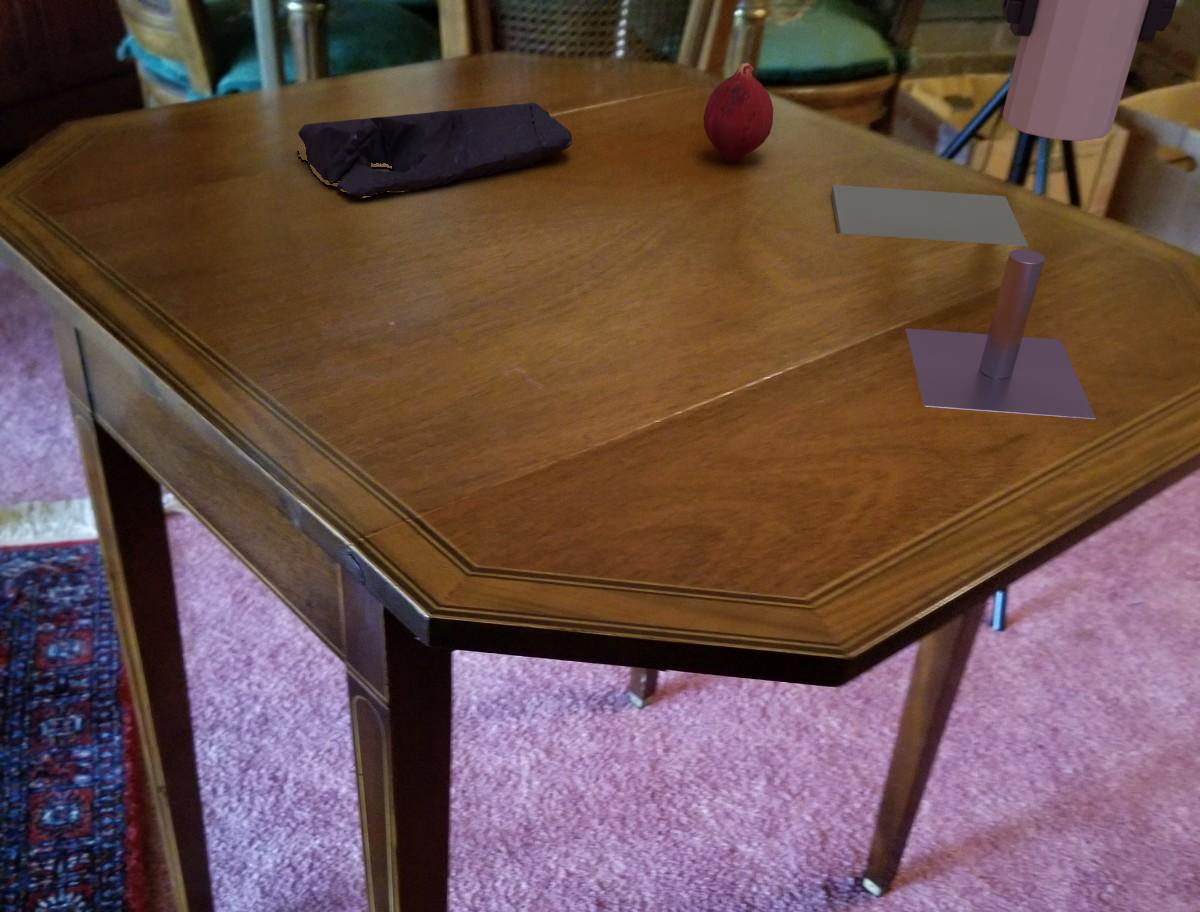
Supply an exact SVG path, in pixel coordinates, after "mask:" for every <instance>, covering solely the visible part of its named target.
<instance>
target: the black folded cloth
mask: <svg viewBox="0 0 1200 912" xmlns="http://www.w3.org/2000/svg"><path fill="white" fill-rule="evenodd" d="M297 133H298V136H299V137H300V139H301V140H302V142H304V144H305V147H306V155H307V160H308V162H309V163H310V164H311V165H312V166H313V167H314V168H315V169H316V171H317V172H318V173H319V174H320V175H321V177H322V178H323V179H324V180H328V181H329V183H330V184H333V183H339V184H338V185H337V189H338V190H340V189H343V190H344V191H347V193H346V194H348V195H350V196H353V197H355V196H356V197H355V198H359V197H363V196H373V197H374V195H375V194H376V193H381V192H387V191H405V192H407V191H419V190H421V189H424V187H425V188H432V187H441V186H442V187H443V186H445V185H447V184H449V183H451V182H453V181H457V180H458V181H459V180H465V179H475V178H480V177H483V175H485V176H492V175H495V174H496V173H503V172H505V171H511V170H518V169H521V168H523V167H528V168H529V167H531V168H532V167H534V166H535V163H537V162H540V160H542V159H547V158H549V157H552V156H553V155H554V154H556V153H559V152H563V151H565V150H567V149H569V148H570V147H571V146H572V144H573V135H572V133H571V131H570V130H569V129H568V128H567V127H566V126H564V125H563V124H562V123H561V122H559V121H558V120H557V119H556V118H555V117H552V116H551V115H550V114H549V112H548V111H547V110H545V108H543V107H542V106H540V104H538V103H537V102H528V103H518V104H505V105H497V106H482V107H474V108H464V109H461V108H459V109H452V110H438V111H430V112H422V113H421V112H420V113H409V114H408V113H407V114H399V115H398V114H397V115H390V116H388V115H387V116H376V117H368V118H355V119H346V120H345V119H344V120H336V121H323V122H313V123H306V124H303V125H302V127H301V128H300V129H299V131H298V132H297ZM371 163H373V164H376V163H379V164H380V163H381V164H383V163H386V164H388V165H389V166H392V169H393V170H388V171H387V170H386V171H384V170H375V168H372V167H371ZM338 181H340V182H338ZM410 189H412V190H410ZM381 194H382V193H381ZM375 196H376V195H375Z"/></svg>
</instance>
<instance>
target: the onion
mask: <svg viewBox="0 0 1200 912" xmlns="http://www.w3.org/2000/svg"><path fill="white" fill-rule="evenodd" d="M753 71H754V67H753V66H752V65H751V64H750V63H749V62H744V63H741V64H740V65H739V66H738V68H737V69H736V70H735V72H734V73H733V75H731V76H729V77H727V78H725V79H724V80H722V82H720V83H719V84H718V85H717V86H716V88H715V89H714V90H713V91H712V92H711V94H710V95H709V98H708V101H707V102H706V106H705V109H704V113H703V129H704V131H705V134H706V137H707V139H708V140H709V142H710V143H711V144H712V146H713V147H714V149H715V150H716V151H717V152H718V153H719V154H720V155H722V156H723V157H724V158H725V159H727V160H728V161H730V162H732V163H738V162H740V161H742V160H743V159H744V158H745V157H747V156H748V155H750V154H751V153H753V152H754V151H756V150H757V149H758V148H759V147H760V146H762V145H763V144H764V143H765V142H766V140H767V139H768V137H769V136H770V134H771V132H772V128H773V121H774V105H773V101H772V99H771V96H770V94H769V92H768V90H767V89H766V88H765V86H764V85H763V84H762V83H761V82H760V81H759V80H758V79H756V78H755V77H754V76H753Z"/></svg>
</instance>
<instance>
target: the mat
mask: <svg viewBox="0 0 1200 912" xmlns="http://www.w3.org/2000/svg"><path fill="white" fill-rule="evenodd" d="M830 195H831V201H832V207H833V208H832V209H833V214H834V219H835V224H836V225H835V226H836V232H837V234H844V235H846V234H847V235H857V236H859V235H860V236H872V237H873V236H875V237H885V238H886V237H887V238H901V239H902V238H903V239H916V240H931V241H945V242H947V241H948V242H961V243H974V244H975V243H976V244H986V245H987V244H989V245H1004V246H1016V247H1018V246H1019V247H1029V244H1028V242H1027V240H1026V238H1025V235H1024V233H1023V231H1022V229H1021V227H1020V225H1019V222H1018V220H1017V218H1016V216H1015V213H1014V211H1013V210H1012V207H1011V205H1010V203H1009V202H1008V199H1007V196H1005V195H992V194H979V193H978V194H977V193H963V192H951V191H950V192H948V191H934V190H932V191H931V190H921V189H919V190H918V189H903V188H892V187H891V188H888V187H874V186H859V185H846V184H845V185H844V184H832V185H831V193H830Z"/></svg>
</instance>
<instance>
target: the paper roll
mask: <svg viewBox="0 0 1200 912" xmlns="http://www.w3.org/2000/svg"><path fill="white" fill-rule="evenodd" d="M1149 1H1150V0H1039V2H1038V7H1037V11H1036V15H1035V19H1034V23H1033V27H1032V31H1031V34H1030V36H1029V37H1026V36H1020V40H1019V44H1018V48H1017V51H1016V56H1015V61H1014V65H1013V69H1012V72H1011V73H1012V74H1011V78H1010V80H1009V81H1010V82H1009V86H1008V90H1007V94H1006V98H1005V102H1004V108H1003V111H1002V117H1003V119H1004V122H1005V123H1006V125H1007V126H1009V127H1012V128H1014V129H1015V130H1018V131H1020V132H1022V133H1024V134H1027V135H1031V136H1032V135H1033V136H1037V137H1042V138H1046V139H1050V140H1057V141H1074V142H1083V141H1088V140H1095V139H1102V138H1104V137H1105V136H1106V135H1107V134H1108V133H1110V132H1111V131H1112V130H1113V126H1114V123H1115V119H1116V116H1117V112H1118V109H1119V105H1120V102H1121V99H1122V96H1123V95H1122V94H1123V92H1124V89H1125V85H1126V81H1127V79H1128V74H1129V73H1130V68H1131V65H1132V61H1133V58H1134V55H1135V51H1136V48H1137V45H1138V42H1137V41H1138V38H1139V34H1140V31H1141V28H1142V24H1143V21H1144V18H1145V14H1146V11H1147V7H1148V4H1149Z"/></svg>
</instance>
